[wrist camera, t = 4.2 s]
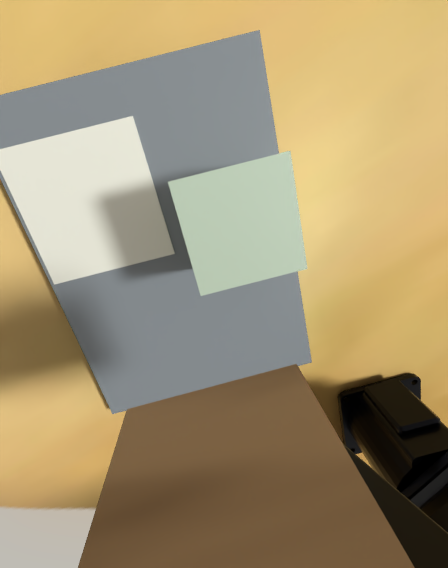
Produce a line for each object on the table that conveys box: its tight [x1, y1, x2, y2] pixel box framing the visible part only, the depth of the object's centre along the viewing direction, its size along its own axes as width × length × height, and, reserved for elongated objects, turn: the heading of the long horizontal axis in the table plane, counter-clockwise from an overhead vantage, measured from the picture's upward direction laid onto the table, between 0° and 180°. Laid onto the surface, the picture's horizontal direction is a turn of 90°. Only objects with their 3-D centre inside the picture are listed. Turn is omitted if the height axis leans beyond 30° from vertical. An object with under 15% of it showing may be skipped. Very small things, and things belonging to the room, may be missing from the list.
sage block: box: [168, 151, 307, 296], centre depth 14 cm, size 5×5×5 cm
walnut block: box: [78, 364, 414, 568], centre depth 6 cm, size 5×5×5 cm
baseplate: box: [0, 30, 312, 414], centre depth 17 cm, size 20×15×1 cm
